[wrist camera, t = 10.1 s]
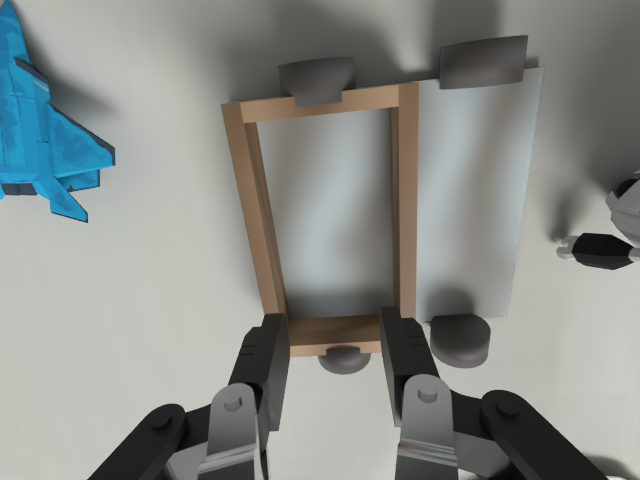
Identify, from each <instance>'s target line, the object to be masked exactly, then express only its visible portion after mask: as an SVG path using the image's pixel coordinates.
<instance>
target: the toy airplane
mask: <svg viewBox="0 0 640 480" xmlns="http://www.w3.org/2000/svg"><path fill="white" fill-rule="evenodd" d="M110 166H115V148H114V147H113V146H111V145H110V144H108V143H107V142H105V141H104V140H102V139H101V138H99V137H98V136H96V135H95V134H93V133H92V132H90V131H89V130H87V129H86V128H84V127H83V126H81V125H80V124H78V123H77V122H75V121H74V120H72V119H71V118H69V117H68V116H66V115H65V114H64V113H62V112H61V111H59V110H58V109H57V108H55V107H54V106H52V105H51V102H50V94H49V86H48V79H47V78H46V77H45V76H44V75H43V74H42V73H41V72H40V71H39V70H38V69H37V68H36V67H35V66H34V65H33V64H32V63H31V61H30V59H29V57H28V54H27V50H26V45H25V41H24V37H23V32H22V28H21V25H20V23H19V20H18V18H17V15H16V13H15V10H14V8H13V7H12V5H11V3H10V1H9V0H5V1H4V3H3V5H2V6H1V8H0V199H2V198H3V197H4V195H37V193H38V194H40V195H41V196H43V197H45V198H47V199H50V210H51V212H52V213H54V214H58V215H61V216H65V217H68V218H72V219H75V220H79V221H82V222H86V223H88V215H87V212H86V211H85V210H84V209H83V208H82V206H81V205H80V204H79V203H78V202H77V201H76V200H75V199H74V198H73V197H72V196H71V194H70V193H69V192H73V191H78V190H84V189H89V188H95V187H100V175H99V169H102V168H106V167H110Z"/></svg>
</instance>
